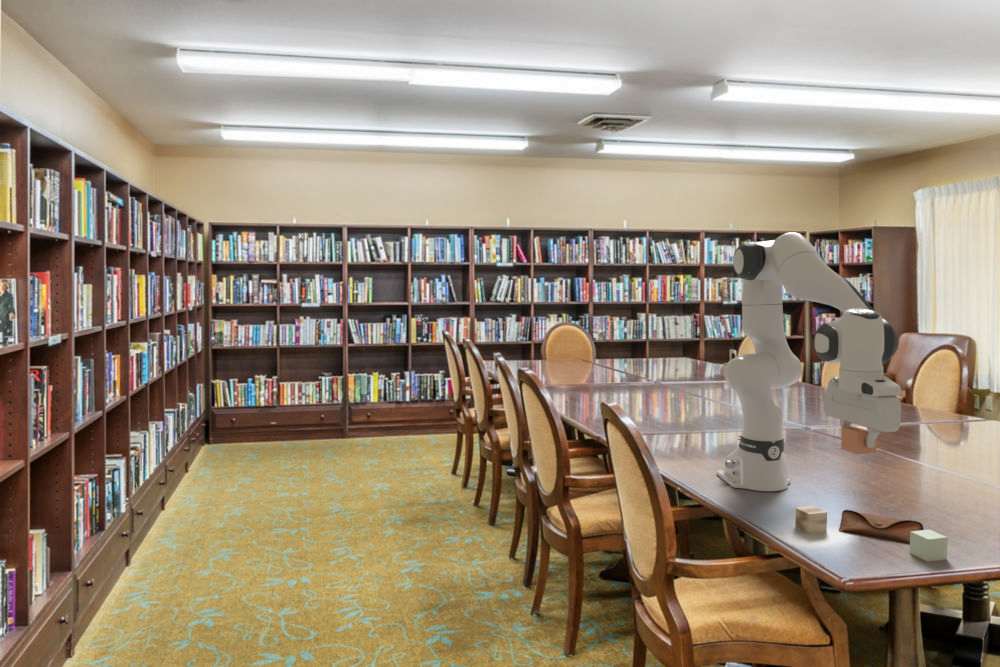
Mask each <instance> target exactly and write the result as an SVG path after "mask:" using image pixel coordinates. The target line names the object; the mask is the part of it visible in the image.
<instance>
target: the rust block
mask: <svg viewBox="0 0 1000 667" xmlns="http://www.w3.org/2000/svg"><path fill="white" fill-rule="evenodd" d="M868 434H869V432H867V427H865V426H861V425H855V426H854V425H853V426H851V427H842V428H841V445H840V446H841V448H840V449H841V450H844V451H846V452H849V453H851V454H855V455H865V454H866V455H867V454H876V453H877V442H878V441H877V438H878V437H877V438H876V439H875V447H873V448H869V447H866V446H864V438H867V436H868Z"/></svg>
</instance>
